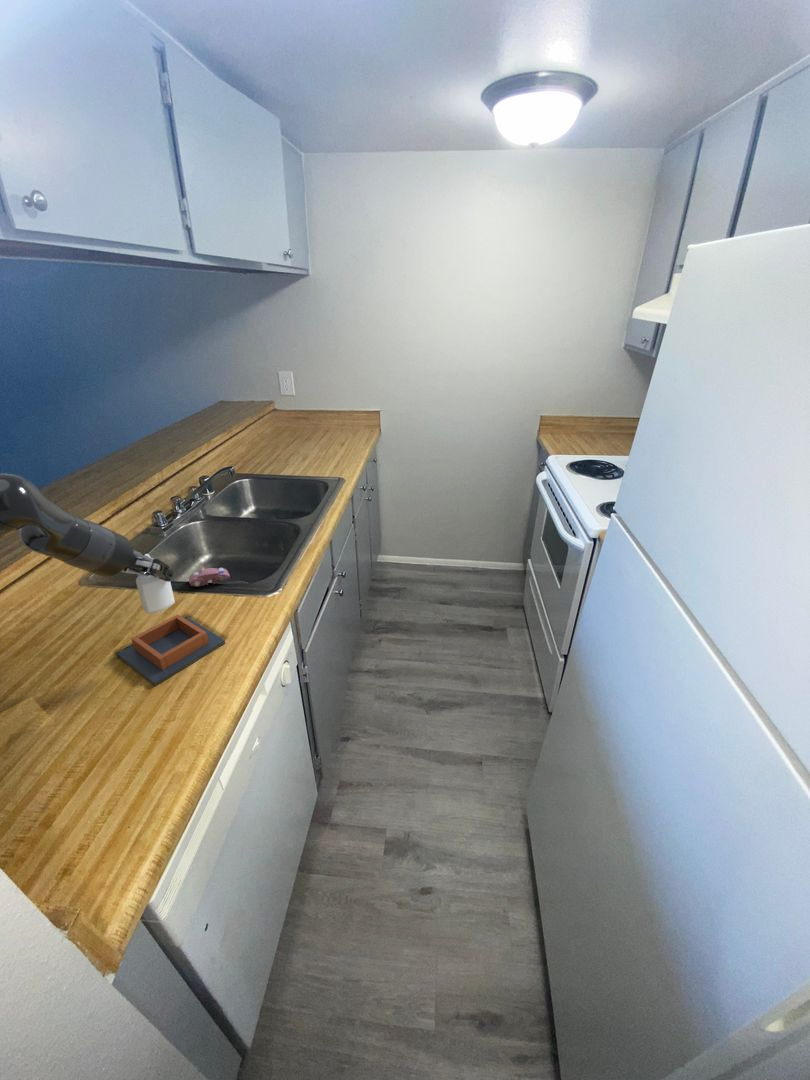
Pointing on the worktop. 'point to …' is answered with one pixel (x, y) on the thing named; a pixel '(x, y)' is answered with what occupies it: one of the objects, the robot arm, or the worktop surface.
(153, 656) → the socket pad
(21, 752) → the worktop surface
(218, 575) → the pink toy car
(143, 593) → the eye dropper bottle
